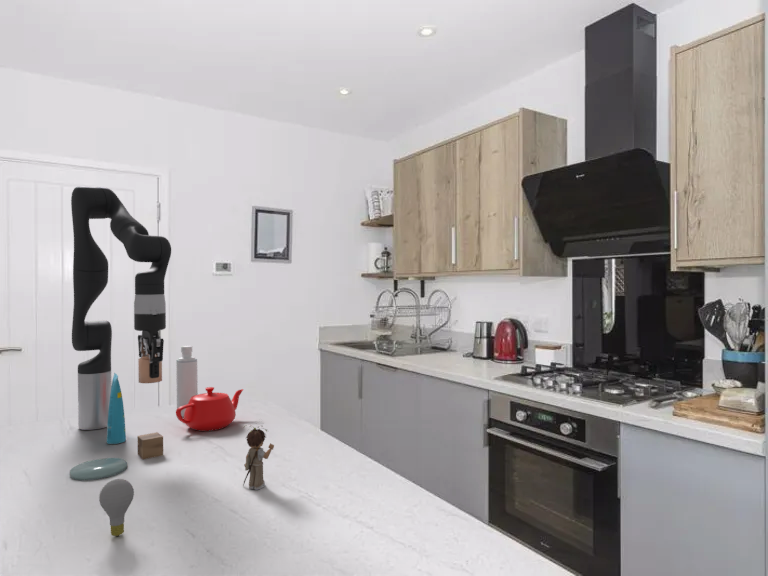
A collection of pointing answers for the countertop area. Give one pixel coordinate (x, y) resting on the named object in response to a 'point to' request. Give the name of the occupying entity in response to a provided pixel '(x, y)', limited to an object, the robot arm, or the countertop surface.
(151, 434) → the block
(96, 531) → the countertop surface
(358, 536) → the countertop surface
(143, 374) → the dome-topped cylinder
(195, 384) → the white bottle
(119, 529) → the light bulb
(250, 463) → the toy
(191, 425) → the teapot
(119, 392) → the tube
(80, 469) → the dish
